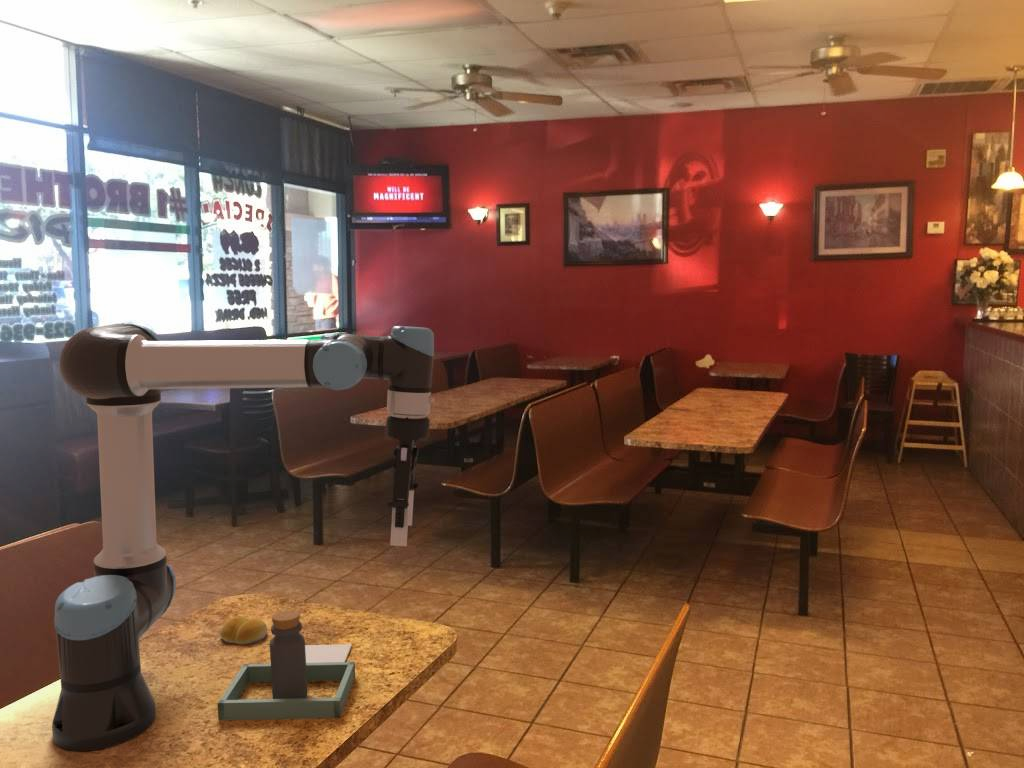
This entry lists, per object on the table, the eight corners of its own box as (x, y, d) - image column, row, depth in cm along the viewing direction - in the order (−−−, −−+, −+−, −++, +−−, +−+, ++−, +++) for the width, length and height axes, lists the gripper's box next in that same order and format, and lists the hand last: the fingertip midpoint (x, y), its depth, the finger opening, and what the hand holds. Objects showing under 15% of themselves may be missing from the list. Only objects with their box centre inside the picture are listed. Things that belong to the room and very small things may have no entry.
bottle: (298, 708, 140) (294, 622, 139) (266, 705, 142) (261, 620, 140) (313, 691, 146) (309, 609, 144) (282, 688, 147) (278, 607, 145)
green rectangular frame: (218, 720, 137) (217, 703, 136) (244, 679, 151) (243, 664, 150) (340, 717, 137) (339, 700, 137) (355, 677, 151) (354, 661, 151)
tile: (266, 671, 154) (265, 669, 154) (280, 648, 164) (280, 645, 164) (341, 670, 154) (341, 667, 154) (351, 646, 164) (351, 644, 164)
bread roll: (253, 648, 165) (252, 628, 164) (214, 643, 167) (213, 624, 167) (276, 630, 172) (275, 612, 172) (238, 626, 175) (237, 608, 174)
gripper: (426, 425, 133) (418, 556, 135) (432, 408, 158) (426, 518, 159) (379, 423, 132) (372, 553, 134) (393, 406, 157) (387, 516, 159)
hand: (401, 534), depth 147 cm, fingers open, 13 cm apart
